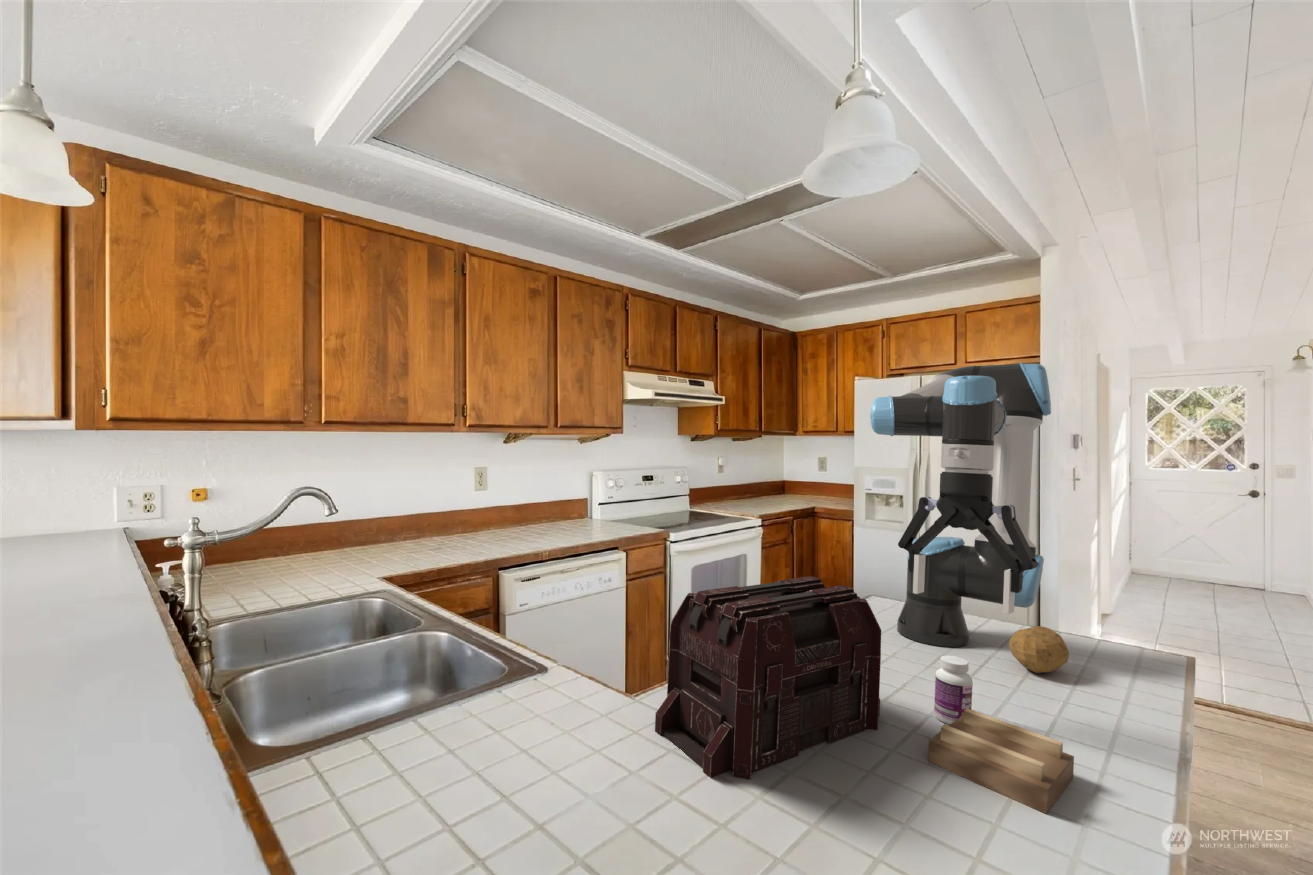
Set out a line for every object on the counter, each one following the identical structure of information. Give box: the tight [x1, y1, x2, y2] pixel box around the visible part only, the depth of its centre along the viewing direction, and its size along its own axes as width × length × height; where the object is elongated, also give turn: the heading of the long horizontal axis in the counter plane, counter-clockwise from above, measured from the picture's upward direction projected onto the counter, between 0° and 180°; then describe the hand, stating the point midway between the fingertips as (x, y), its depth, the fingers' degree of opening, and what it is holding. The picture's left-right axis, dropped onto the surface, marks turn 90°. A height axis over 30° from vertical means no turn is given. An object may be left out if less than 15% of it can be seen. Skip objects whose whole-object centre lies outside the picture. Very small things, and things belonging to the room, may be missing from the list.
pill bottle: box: [933, 655, 974, 726], centre depth 91 cm, size 5×5×10 cm
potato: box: [1008, 625, 1070, 674], centre depth 114 cm, size 10×14×8 cm
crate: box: [654, 575, 882, 781], centre depth 87 cm, size 35×19×21 cm, turn 123°
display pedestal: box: [927, 708, 1075, 815], centre depth 77 cm, size 14×12×5 cm
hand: (960, 602), depth 91 cm, fingers open, 13 cm apart
